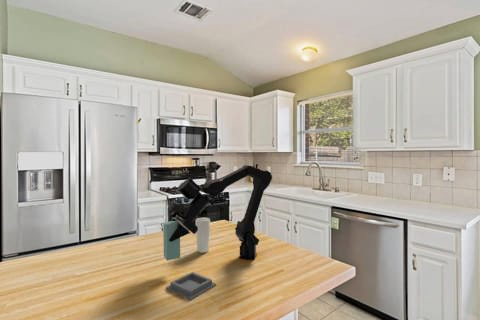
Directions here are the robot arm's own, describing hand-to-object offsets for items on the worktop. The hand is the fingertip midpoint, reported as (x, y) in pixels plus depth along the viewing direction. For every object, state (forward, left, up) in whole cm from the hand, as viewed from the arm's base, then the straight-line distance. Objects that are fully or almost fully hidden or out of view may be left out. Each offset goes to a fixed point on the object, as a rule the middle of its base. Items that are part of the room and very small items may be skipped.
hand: (168, 239), depth 102 cm
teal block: (-1, -1, -7) cm, 7 cm away
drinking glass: (-4, -25, -14) cm, 29 cm away
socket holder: (-13, +7, -13) cm, 20 cm away
